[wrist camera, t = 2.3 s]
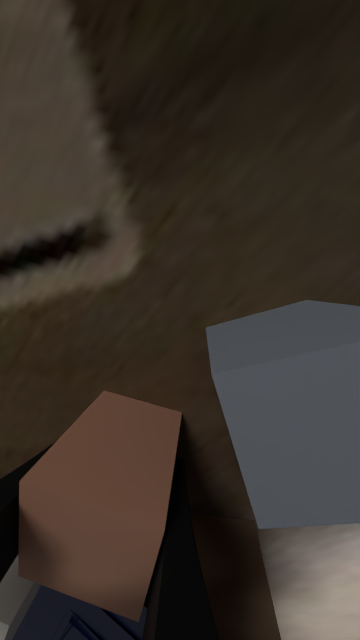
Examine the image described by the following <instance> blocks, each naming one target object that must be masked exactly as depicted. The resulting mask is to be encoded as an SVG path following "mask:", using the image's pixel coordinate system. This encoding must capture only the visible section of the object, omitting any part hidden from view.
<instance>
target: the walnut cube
mask: <svg viewBox="0 0 360 640" xmlns="http://www.w3.org/2000/svg"><path fill="white" fill-rule="evenodd" d="M190 515H191V521H192V527H193V532H194V537H195V542H196V547H197V552H198V557H199V562H200V566H201V570H202V575H203V579H204V583H205V587H206V591H207V595H208V599H209V603H210V607H211V611H212V615H213V619H214V623H215V626H216V630H217V633H218V637H219V640H281V637H280V633H279V629H278V624H277V620H276V615H275V611H274V607H273V602H272V598H271V594H270V589H269V585H268V581H267V576H266V572H265V567H264V563H263V559H262V554H261V550H260V546H259V541H258V537H257V533H256V528H255V524H254V521H253V520H245V519H237V518H229V517H221V516H213V515H205V514H197V513H190Z"/></svg>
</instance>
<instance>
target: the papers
mask: <svg viewBox="0 0 360 640" xmlns="http://www.w3.org/2000/svg"><path fill="white" fill-rule="evenodd" d="M146 613H147V608H146V607H145V606H144V605H143V609H142V612H141V616H140V619H139V622H136V621H134V620H131V619H129V618H126V617H123V616H121V615H118V614H116V613H113V612H110V611H108V610H105V609H103V608H100V607H98V606H95V605H92V604H90V603H87V602H85V601H82V600H79V599H77V598H74V597H72V596H69V595H66V594H64V593H61V592H59V591H56V590H53V589H51V588H48V587H46V586H43V585H41V586H40V588H39V590H38V592H37V594H36V596H35V597H34V599H33V601H32V603H31V605H30V607H29V609H28V611H27V612H26V614H25V616H24V618H23V620H22V622H21V624H20V625H19V627H18V629H17V631H16V633H15V635H14V637H13V639H12V640H142V636H143V630H144V625H145V619H146Z"/></svg>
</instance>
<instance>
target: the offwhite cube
mask: <svg viewBox="0 0 360 640" xmlns="http://www.w3.org/2000/svg"><path fill="white" fill-rule="evenodd" d="M40 586H41V585H40V584H38V583H35V582H33V581H30V580H27V579H25V578H22V577H20V576H18V555H17V557H16V559H15V560H14V562H13V563H12V565H11V567H10V568H9V570H8V571H7V573H6V575H5V576H4V578H3V579H2V581H1V583H0V640H12V639H13V637H14V635H15V633H16V631H17V629H18V627H19V625H20V624H21V622H22V620H23V618H24V616H25V614H26V612H27V611H28V609H29V607H30V605H31V603H32V601H33V599H34V597H35V596H36V594H37V592H38V590H39V588H40Z"/></svg>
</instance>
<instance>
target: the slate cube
mask: <svg viewBox="0 0 360 640" xmlns="http://www.w3.org/2000/svg"><path fill="white" fill-rule="evenodd" d="M206 334H207V341H208V349H209V357H210V365H211V373H212V377H213V380H214V384H215V387H216V390H217V394H218V397H219V400H220V404H221V407H222V410H223V413H224V417H225V420H226V423H227V427H228V430H229V433H230V436H231V440H232V443H233V446H234V450H235V453H236V456H237V459H238V463H239V466H240V469H241V473H242V476H243V479H244V482H245V486H246V489H247V492H248V496H249V499H250V502H251V505H252V509H253V512H254V515H255V519H256V522H257V525H258V528H259V529H268V528H285V527H301V526H318V525H334V524H351V523H360V306H352V305H344V304H336V303H327V302H319V301H311V300H305V301H301V302H298V303H294V304H290V305H287V306H283V307H279V308H276V309H272V310H269V311H265V312H261V313H258V314H254V315H250V316H247V317H243V318H239V319H236V320H232V321H228V322H225V323H221V324H217V325H214V326H210V327H207V328H206Z"/></svg>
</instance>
